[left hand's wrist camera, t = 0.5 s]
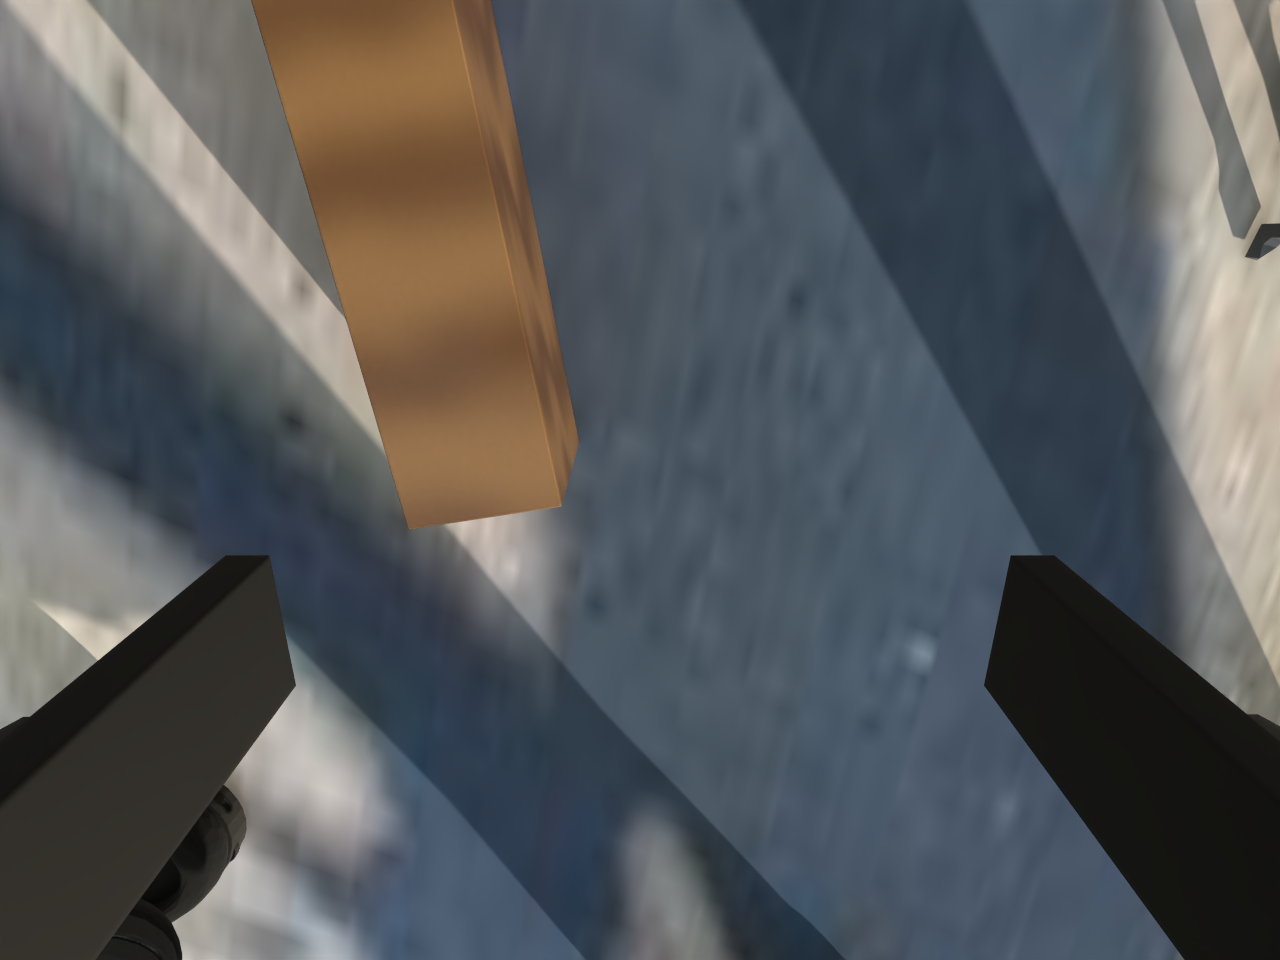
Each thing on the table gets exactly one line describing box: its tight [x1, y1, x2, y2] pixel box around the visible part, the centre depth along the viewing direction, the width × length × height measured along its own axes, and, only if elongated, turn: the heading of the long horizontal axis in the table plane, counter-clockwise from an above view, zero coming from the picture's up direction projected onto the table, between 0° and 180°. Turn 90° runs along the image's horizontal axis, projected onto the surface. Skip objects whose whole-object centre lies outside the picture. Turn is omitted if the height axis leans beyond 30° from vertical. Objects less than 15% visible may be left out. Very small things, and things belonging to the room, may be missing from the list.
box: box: [251, 0, 579, 529], centre depth 28 cm, size 23×6×9 cm, turn 9°
